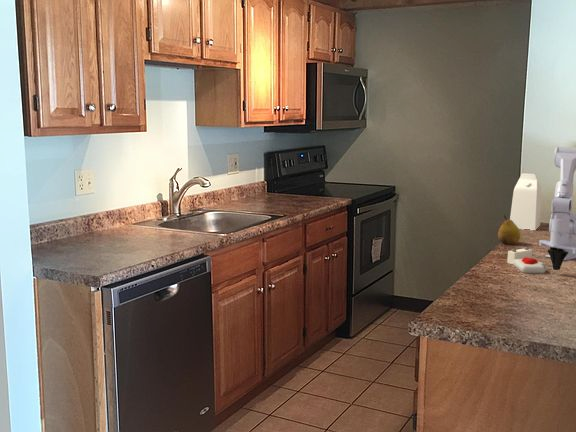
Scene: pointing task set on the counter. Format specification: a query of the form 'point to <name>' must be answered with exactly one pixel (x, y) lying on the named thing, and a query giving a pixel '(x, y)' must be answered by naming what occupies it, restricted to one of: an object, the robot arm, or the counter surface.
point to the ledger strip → (519, 254)
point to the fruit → (508, 232)
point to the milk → (526, 202)
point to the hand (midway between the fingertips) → (556, 269)
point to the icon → (529, 265)
